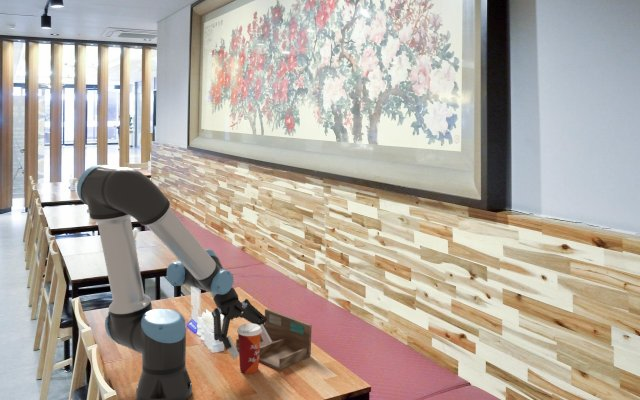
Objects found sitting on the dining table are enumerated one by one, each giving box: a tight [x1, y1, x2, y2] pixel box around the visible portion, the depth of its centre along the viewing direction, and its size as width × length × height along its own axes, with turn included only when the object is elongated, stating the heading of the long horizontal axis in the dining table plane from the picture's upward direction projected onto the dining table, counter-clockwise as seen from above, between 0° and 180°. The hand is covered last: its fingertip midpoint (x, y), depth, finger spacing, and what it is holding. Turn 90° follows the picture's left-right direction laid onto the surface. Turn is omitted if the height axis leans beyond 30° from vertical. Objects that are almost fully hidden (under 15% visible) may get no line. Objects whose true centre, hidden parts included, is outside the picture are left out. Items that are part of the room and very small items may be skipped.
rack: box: [235, 308, 313, 371], centre depth 178 cm, size 15×22×11 cm
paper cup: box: [236, 322, 262, 375], centre depth 165 cm, size 8×8×14 cm
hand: (253, 350), depth 165 cm, fingers open, 13 cm apart
